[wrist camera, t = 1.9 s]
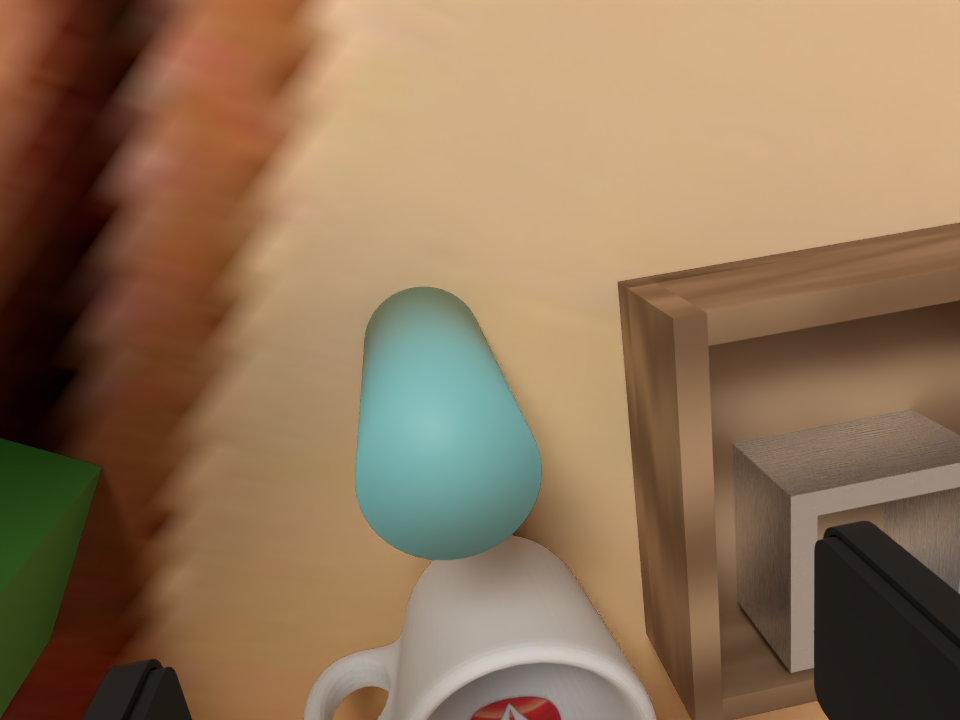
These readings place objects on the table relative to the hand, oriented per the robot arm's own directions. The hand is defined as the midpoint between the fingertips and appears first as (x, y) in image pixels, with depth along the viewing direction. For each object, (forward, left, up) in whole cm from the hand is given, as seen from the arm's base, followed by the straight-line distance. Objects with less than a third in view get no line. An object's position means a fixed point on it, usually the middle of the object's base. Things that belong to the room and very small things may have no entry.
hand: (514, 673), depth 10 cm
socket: (+9, +14, -16) cm, 22 cm away
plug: (0, 0, -16) cm, 16 cm away
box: (+6, +14, -16) cm, 22 cm away
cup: (+10, -1, -16) cm, 19 cm away
